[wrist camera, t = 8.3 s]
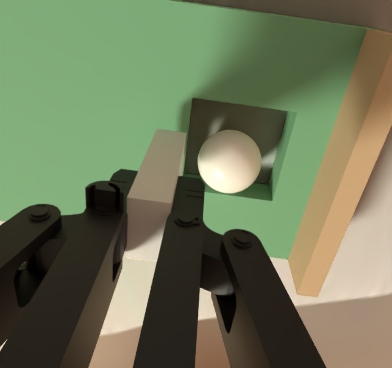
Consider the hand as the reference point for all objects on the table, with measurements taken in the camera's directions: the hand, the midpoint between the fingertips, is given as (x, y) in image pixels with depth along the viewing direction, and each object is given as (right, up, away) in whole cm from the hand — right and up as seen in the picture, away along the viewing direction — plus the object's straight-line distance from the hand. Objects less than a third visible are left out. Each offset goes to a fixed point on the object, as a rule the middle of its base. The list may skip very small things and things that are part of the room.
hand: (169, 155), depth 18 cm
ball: (+3, +1, +3) cm, 5 cm away
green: (-2, +2, +3) cm, 4 cm away
